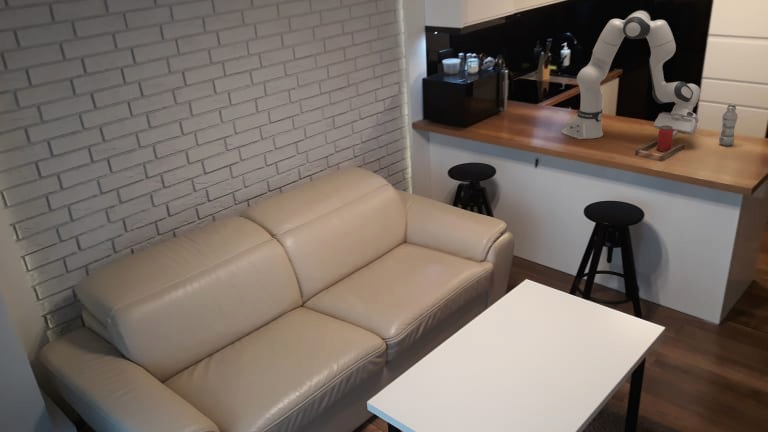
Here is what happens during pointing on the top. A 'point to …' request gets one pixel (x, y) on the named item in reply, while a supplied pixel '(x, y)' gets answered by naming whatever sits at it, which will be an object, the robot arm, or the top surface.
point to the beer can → (665, 138)
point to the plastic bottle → (728, 126)
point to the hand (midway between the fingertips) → (668, 138)
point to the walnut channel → (658, 157)
